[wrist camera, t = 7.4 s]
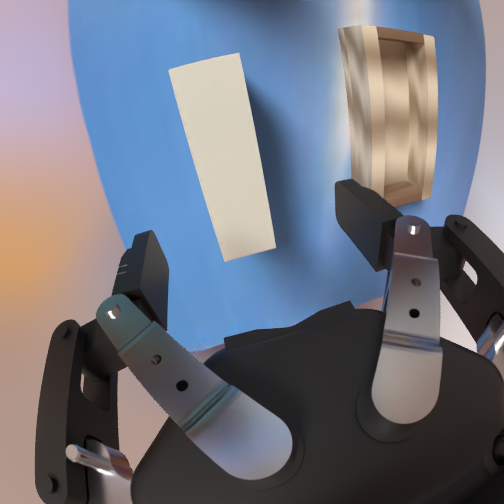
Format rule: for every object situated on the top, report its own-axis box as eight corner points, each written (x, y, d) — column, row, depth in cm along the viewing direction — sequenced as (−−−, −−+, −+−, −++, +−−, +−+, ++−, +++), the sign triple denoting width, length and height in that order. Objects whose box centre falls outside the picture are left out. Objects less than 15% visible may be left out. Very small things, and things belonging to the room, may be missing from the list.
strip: (176, 71, 19) (168, 69, 12) (224, 59, 19) (239, 52, 13) (215, 211, 27) (224, 261, 21) (254, 200, 27) (276, 247, 21)
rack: (338, 28, 18) (361, 25, 15) (407, 35, 18) (433, 36, 15) (351, 195, 29) (370, 213, 26) (410, 182, 29) (430, 197, 26)
